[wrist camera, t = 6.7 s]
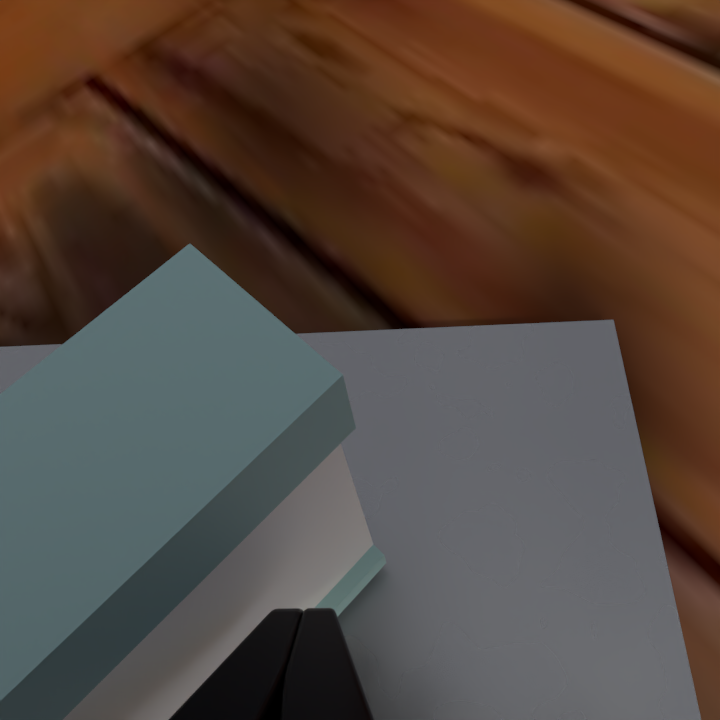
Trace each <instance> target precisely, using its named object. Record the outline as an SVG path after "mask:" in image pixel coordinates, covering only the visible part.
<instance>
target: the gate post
mask: <svg viewBox="0 0 720 720" xmlns="http://www.w3.org/2000/svg"><path fill="white" fill-rule="evenodd" d="M296 335H297V336H298V337H300V338H301V339H302V340H303V341H304V342H305V343H307V344H308V345H309V346H310V347H311V348H312V349H314V350H315V351H316V352H317V353H318V354H319V355H321V356H322V357H323V358H324V359H325V360H326V361H328V362H329V363H330V364H331V365H332V366H333V367H335V368H336V369H337V370H338V371H339V372H340V373H342V374H343V377H344V381H345V385H346V389H347V393H348V398H349V402H350V406H351V410H352V414H353V418H354V422H355V426H356V429H355V430H354V431H353V432H352V433H351V434H350V435H349V436H347V437H346V438H345V439H344V440H343V441H342V442H341V446H342V449H343V452H344V455H345V458H346V461H347V464H348V468H349V471H350V474H351V477H352V480H353V483H354V486H355V489H356V492H357V495H358V498H359V501H360V504H361V508H362V511H363V514H364V517H365V520H366V523H367V526H368V529H369V532H370V535H371V538H372V541H373V544H374V545H375V546H376V547H377V548H378V549H379V550H380V551H381V552H382V553H383V554H384V556H385V560H386V564H385V565H384V566H383V567H382V568H381V569H380V571H379V572H378V573H377V574H376V575H375V576H374V577H373V578H372V579H371V580H370V582H369V583H368V584H367V585H366V586H365V587H364V588H363V589H362V590H361V591H360V593H359V594H358V595H357V596H356V597H355V598H354V599H353V600H352V601H351V602H350V604H349V605H348V606H347V607H346V608H345V609H344V610H343V611H342V612H341V613H340V615H339V616H338V620H339V623H340V625H341V628H342V631H343V634H344V636H345V639H346V642H347V645H348V647H349V650H350V653H351V656H352V658H353V661H354V664H355V667H356V669H357V672H358V675H359V678H360V681H361V683H362V686H363V689H364V692H365V694H366V697H367V700H368V703H369V705H370V708H371V711H372V714H373V716H374V719H375V720H701V716H700V712H699V707H698V703H697V698H696V694H695V689H694V684H693V680H692V675H691V671H690V666H689V662H688V657H687V653H686V648H685V643H684V639H683V634H682V630H681V625H680V621H679V616H678V611H677V607H676V602H675V598H674V593H673V589H672V584H671V579H670V575H669V570H668V566H667V561H666V557H665V552H664V548H663V543H662V538H661V534H660V529H659V525H658V520H657V516H656V511H655V506H654V502H653V497H652V493H651V488H650V484H649V479H648V474H647V470H646V465H645V461H644V456H643V452H642V447H641V443H640V438H639V433H638V429H637V424H636V420H635V415H634V411H633V406H632V401H631V397H630V392H629V388H628V383H627V379H626V374H625V369H624V365H623V360H622V356H621V351H620V347H619V342H618V338H617V333H616V328H615V324H614V320H595V321H573V322H550V323H527V324H505V325H482V326H460V327H437V328H415V329H392V330H370V331H347V332H325V333H302V334H296ZM61 345H62V344H54V345H32V346H9V347H0V394H1V393H2V392H3V391H5V390H6V389H7V388H8V387H10V386H11V385H12V384H13V383H15V382H16V381H17V380H18V379H20V378H21V377H22V376H23V375H25V374H26V373H27V372H28V371H30V370H31V369H32V368H33V367H35V366H36V365H37V364H39V363H40V362H41V361H42V360H44V359H45V358H46V357H47V356H49V355H50V354H51V353H52V352H54V351H55V350H56V349H57V348H59V347H60V346H61Z"/></svg>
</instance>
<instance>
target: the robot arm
mask: <svg viewBox="0 0 720 720" xmlns="http://www.w3.org/2000/svg"><path fill="white" fill-rule="evenodd" d="M169 720H375V719H374V716H373V714H372V711H371V708H370V705H369V703H368V700H367V697H366V694H365V692H364V689H363V686H362V683H361V681H360V678H359V675H358V672H357V669H356V667H355V664H354V661H353V658H352V656H351V653H350V650H349V647H348V645H347V642H346V639H345V636H344V634H343V631H342V628H341V625H340V623H339V620H338V617H337V614H336V612H335V610H334V609H332V608H307V609H306V610H304V611H303V610H302V609H300V608H278V609H274V610H272V611H271V612H270V613H269V614H268V615H267V616H266V617H265V618H264V619H263V620H262V621H261V622H260V623H259V624H258V625H257V626H256V627H255V628H254V629H253V631H252V632H251V633H250V634H249V635H248V636H247V637H246V638H245V639H244V640H243V641H242V642H241V643H240V644H239V645H238V646H237V647H236V649H235V650H234V651H233V652H232V653H231V654H230V655H229V656H228V657H227V658H226V659H225V660H224V661H223V662H222V663H221V664H220V665H219V667H218V668H217V669H216V670H215V671H214V672H213V673H212V674H211V675H210V676H209V677H208V678H207V679H206V680H205V681H204V682H203V683H202V685H201V686H200V687H199V688H198V689H197V690H196V691H195V692H194V693H193V694H192V695H191V696H190V697H189V698H188V699H187V700H186V702H185V703H184V704H183V705H182V706H181V707H180V708H179V709H178V710H177V711H176V712H175V713H174V714H173V715H172V716H171V717H170V718H169Z"/></svg>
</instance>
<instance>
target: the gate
mask: <svg viewBox="0 0 720 720" xmlns="http://www.w3.org/2000/svg"><path fill="white" fill-rule="evenodd" d="M355 429H356V426H355V422H354V418H353V414H352V410H351V406H350V402H349V398H348V393H347V389H346V385H345V381H344V377H343V374H342V373H340V372H339V371H338V370H337V369H336V368H335V367H333V366H332V365H331V364H330V363H329V362H328V361H326V360H325V359H324V358H323V357H322V356H321V355H319V354H318V353H317V352H316V351H315V350H314V349H312V348H311V347H310V346H309V345H308V344H307V343H305V342H304V341H303V340H302V339H301V338H300V337H298V336H297V335H296V334H295V333H294V332H293V331H291V330H290V329H289V328H288V327H287V326H286V325H284V324H283V323H282V322H281V321H280V320H279V319H277V318H276V317H275V316H274V315H273V314H272V313H271V312H269V311H268V310H267V309H266V308H265V307H264V306H262V305H261V304H260V303H259V302H258V301H257V300H255V299H254V298H253V297H252V296H251V295H250V294H248V293H247V292H246V291H245V290H244V289H243V288H241V287H240V286H239V285H238V284H237V283H236V282H234V281H233V280H232V279H231V278H230V277H229V276H227V275H226V274H225V273H224V272H223V271H222V270H220V269H219V268H218V267H217V266H216V265H215V264H213V263H212V262H211V261H210V260H209V259H208V258H206V257H205V256H204V255H203V254H202V253H201V252H199V251H198V250H197V249H196V248H195V247H194V246H192V245H191V244H188V245H187V246H186V247H185V248H183V249H182V250H181V251H179V252H178V253H177V254H176V255H174V256H173V257H172V258H171V259H169V260H168V261H167V262H166V263H164V264H163V265H162V266H161V267H159V268H158V269H157V270H156V271H154V272H153V273H152V274H151V275H149V276H148V277H147V278H145V279H144V280H143V281H142V282H140V283H139V284H138V285H137V286H135V287H134V288H133V289H132V290H130V291H129V292H128V293H127V294H125V295H124V296H123V297H122V298H120V299H119V300H118V301H117V302H115V303H114V304H113V305H112V306H110V307H109V308H108V309H106V310H105V311H104V312H103V313H101V314H100V315H99V316H98V317H96V318H95V319H94V320H93V321H91V322H90V323H89V324H88V325H86V326H85V327H84V328H83V329H81V330H80V331H79V332H78V333H76V334H75V335H74V336H73V337H71V338H70V339H69V340H67V341H66V342H65V343H64V344H62V345H61V346H60V347H59V348H57V349H56V350H55V351H54V352H52V353H51V354H50V355H49V356H47V357H46V358H45V359H44V360H42V361H41V362H40V363H39V364H37V365H36V366H35V367H33V368H32V369H31V370H30V371H28V372H27V373H26V374H25V375H23V376H22V377H21V378H20V379H18V380H17V381H16V382H15V383H13V384H12V385H11V386H10V387H8V388H7V389H6V390H5V391H3V392H2V393H1V394H0V720H169V718H170V717H171V716H172V715H173V714H174V713H175V712H176V711H177V710H178V709H179V708H180V707H181V706H182V705H183V704H184V703H185V702H186V700H187V699H188V698H189V697H190V696H191V695H192V694H193V693H194V692H195V691H196V690H197V689H198V688H199V687H200V686H201V685H202V683H203V682H204V681H205V680H206V679H207V678H208V677H209V676H210V675H211V674H212V673H213V672H214V671H215V670H216V669H217V668H218V667H219V665H220V664H221V663H222V662H223V661H224V660H225V659H226V658H227V657H228V656H229V655H230V654H231V653H232V652H233V651H234V650H235V649H236V647H237V646H238V645H239V644H240V643H241V642H242V641H243V640H244V639H245V638H246V637H247V636H248V635H249V634H250V633H251V632H252V631H253V629H254V628H255V627H256V626H257V625H258V624H259V623H260V622H261V621H262V620H263V619H264V618H265V617H266V616H267V615H268V614H269V613H270V612H271V611H272V610H274V609H278V608H300V609H302V610H303V611H304V610H306V609H307V608H332V609H334V610H335V612H336V614H337V617H338V616H339V615H340V613H341V612H342V611H343V610H344V609H345V608H346V607H347V606H348V605H349V604H350V602H351V601H352V600H353V599H354V598H355V597H356V596H357V595H358V594H359V593H360V591H361V590H362V589H363V588H364V587H365V586H366V585H367V584H368V583H369V582H370V580H371V579H372V578H373V577H374V576H375V575H376V574H377V573H378V572H379V571H380V569H381V568H382V567H383V566H384V565H385V564H386V560H385V556H384V554H383V553H382V552H381V551H380V550H379V549H378V548H377V547H376V546H375V545H374V544H373V541H372V538H371V535H370V532H369V529H368V526H367V523H366V520H365V517H364V514H363V511H362V508H361V504H360V501H359V498H358V495H357V492H356V489H355V486H354V483H353V480H352V477H351V474H350V471H349V468H348V464H347V461H346V458H345V455H344V452H343V449H342V446H341V442H342V441H343V440H344V439H345V438H346V437H347V436H349V435H350V434H351V433H352V432H353V431H354V430H355Z"/></svg>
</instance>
